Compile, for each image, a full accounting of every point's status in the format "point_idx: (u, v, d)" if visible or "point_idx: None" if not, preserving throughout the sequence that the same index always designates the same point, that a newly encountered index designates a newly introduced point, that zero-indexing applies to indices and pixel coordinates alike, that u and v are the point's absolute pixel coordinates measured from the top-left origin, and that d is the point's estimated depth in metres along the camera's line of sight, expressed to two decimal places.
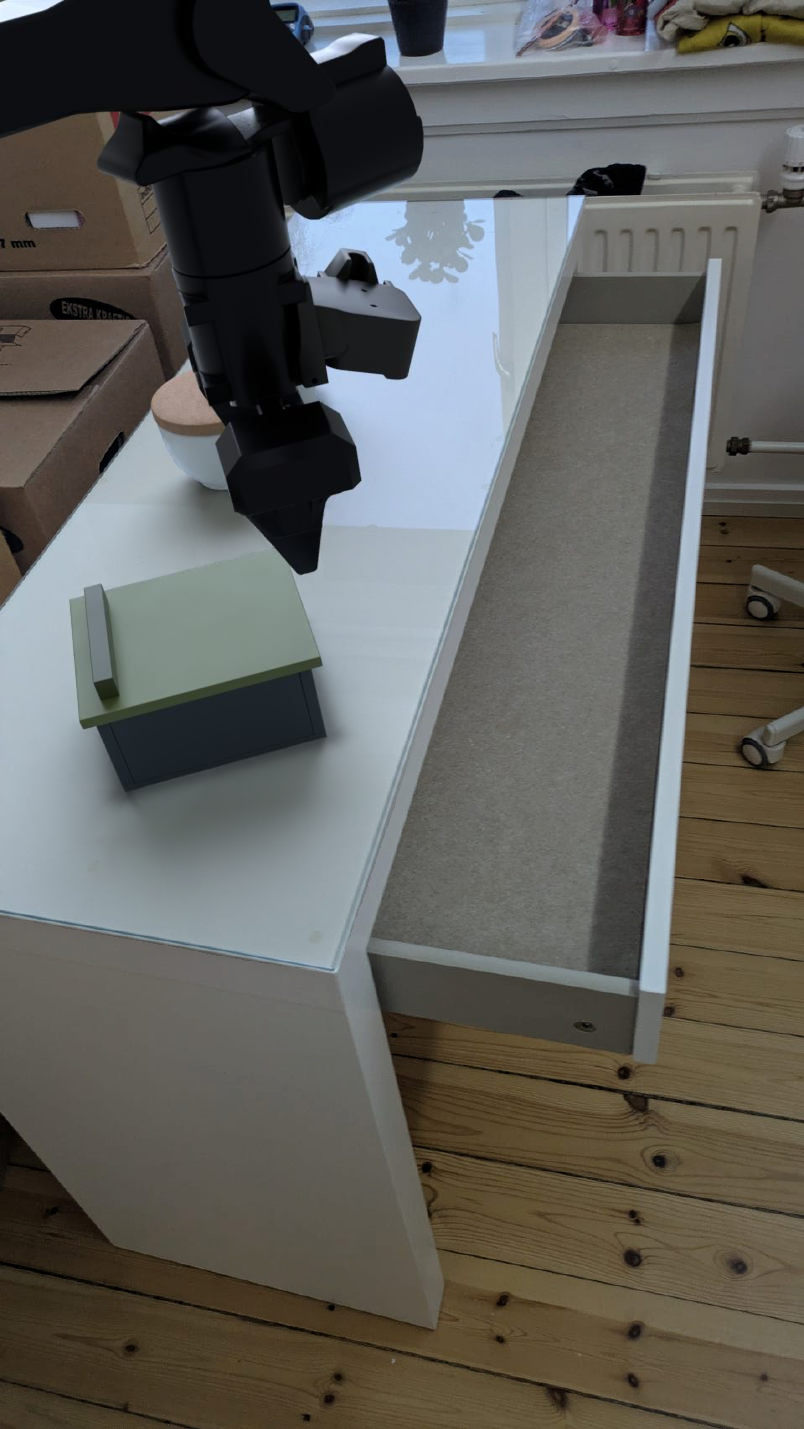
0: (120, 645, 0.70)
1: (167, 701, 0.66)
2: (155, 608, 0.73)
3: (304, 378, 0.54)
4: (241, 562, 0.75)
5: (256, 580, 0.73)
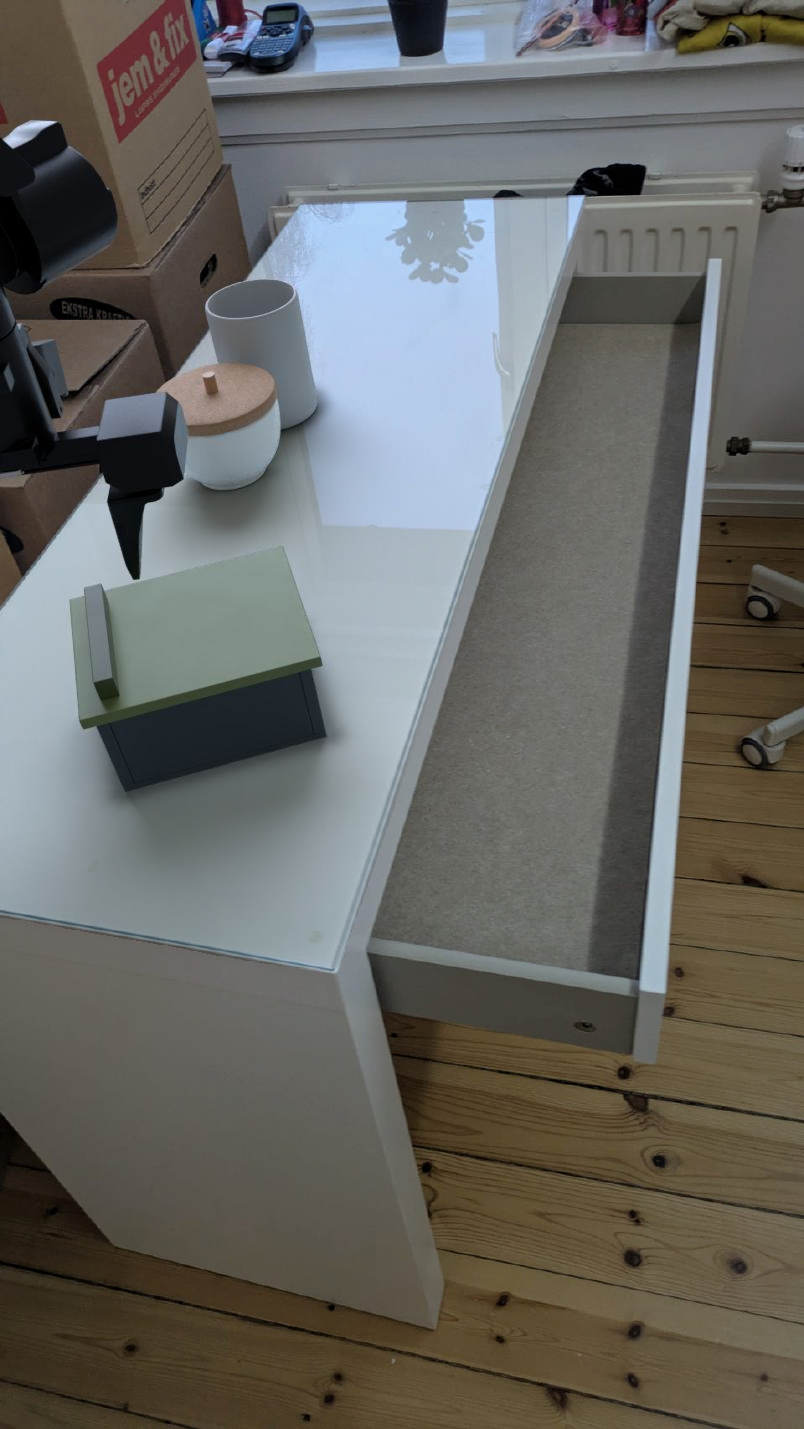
0: (120, 645, 0.70)
1: (167, 701, 0.66)
2: (155, 608, 0.73)
3: (58, 409, 0.59)
4: (241, 562, 0.75)
5: (256, 580, 0.73)
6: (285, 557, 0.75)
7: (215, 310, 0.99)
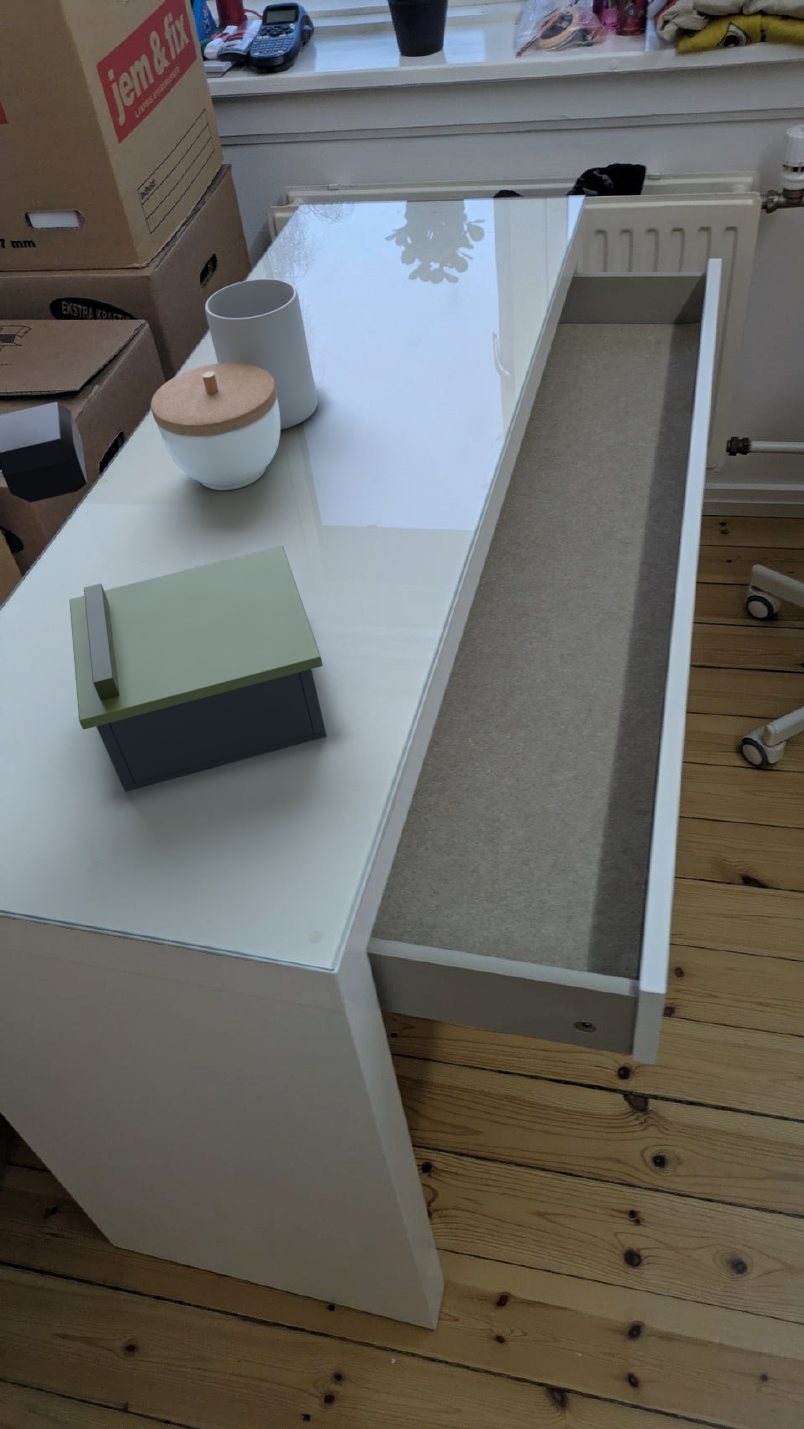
0: (120, 645, 0.70)
1: (167, 701, 0.66)
2: (155, 608, 0.73)
3: None
4: (241, 562, 0.75)
5: (256, 580, 0.73)
6: (285, 557, 0.75)
7: (215, 310, 0.99)
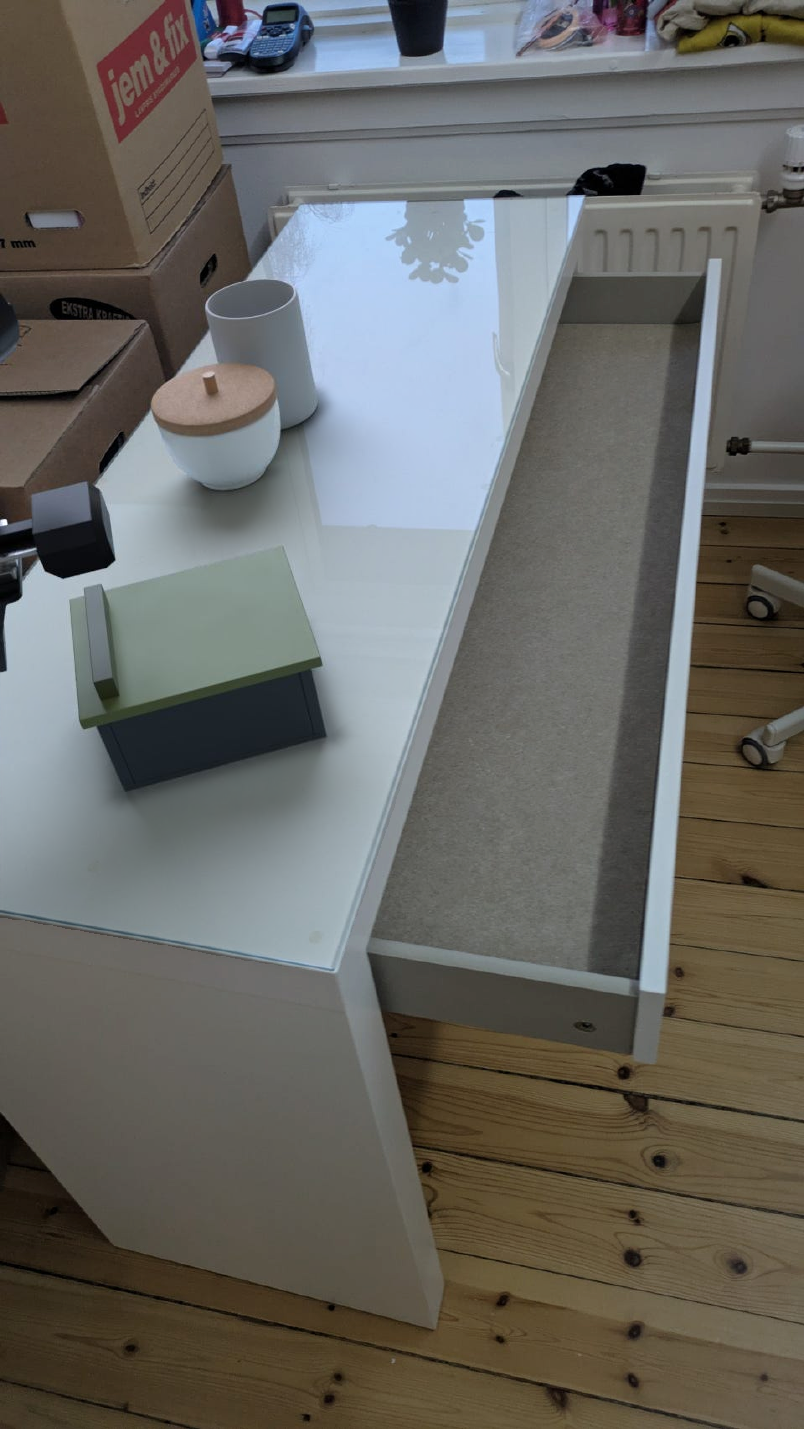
0: (120, 645, 0.70)
1: (167, 701, 0.66)
2: (155, 608, 0.73)
3: None
4: (241, 562, 0.75)
5: (256, 580, 0.73)
6: (285, 557, 0.75)
7: (215, 310, 0.99)
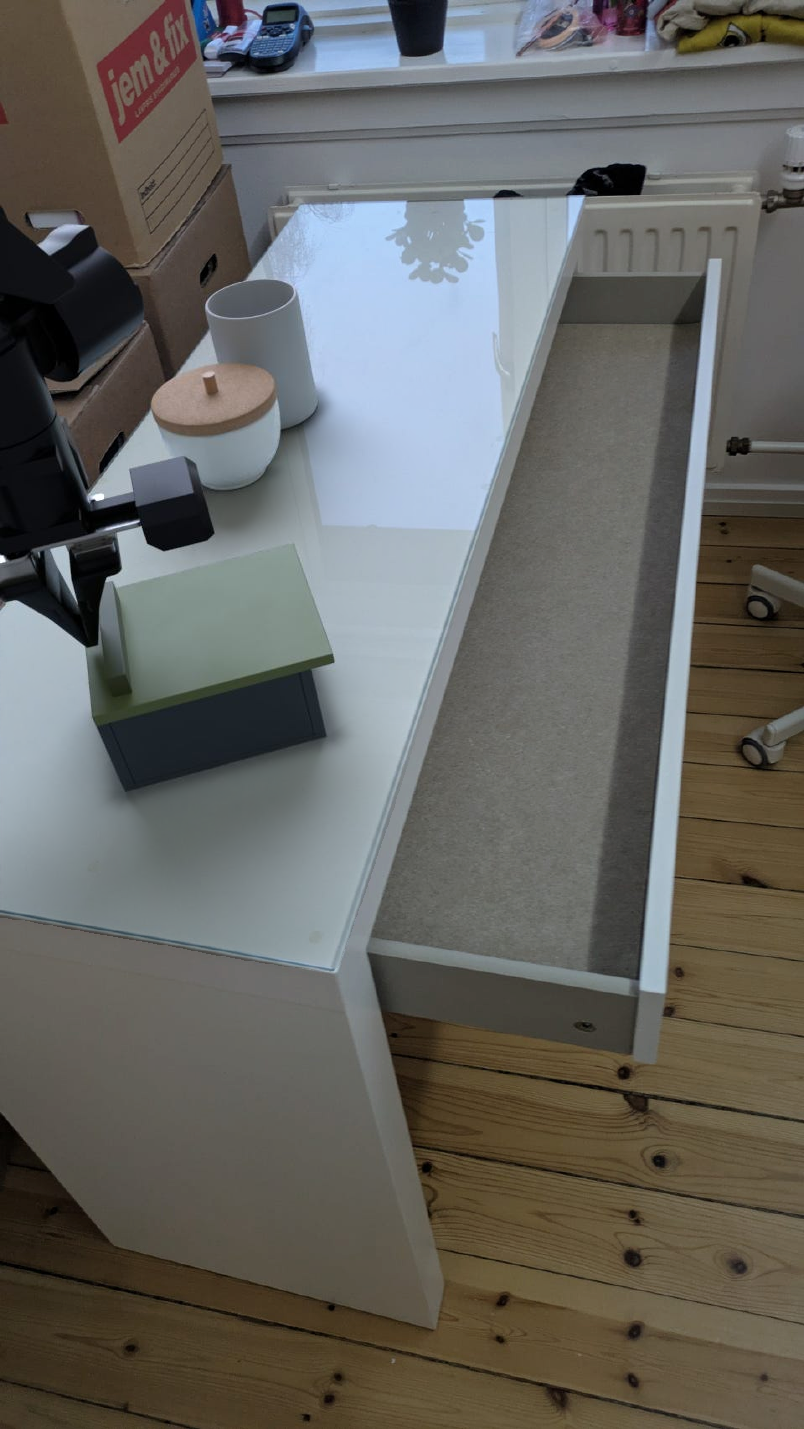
0: (132, 642, 0.70)
1: (180, 698, 0.66)
2: (166, 605, 0.73)
3: (86, 480, 0.64)
4: (251, 559, 0.75)
5: (267, 577, 0.74)
6: (296, 554, 0.75)
7: (215, 310, 0.99)
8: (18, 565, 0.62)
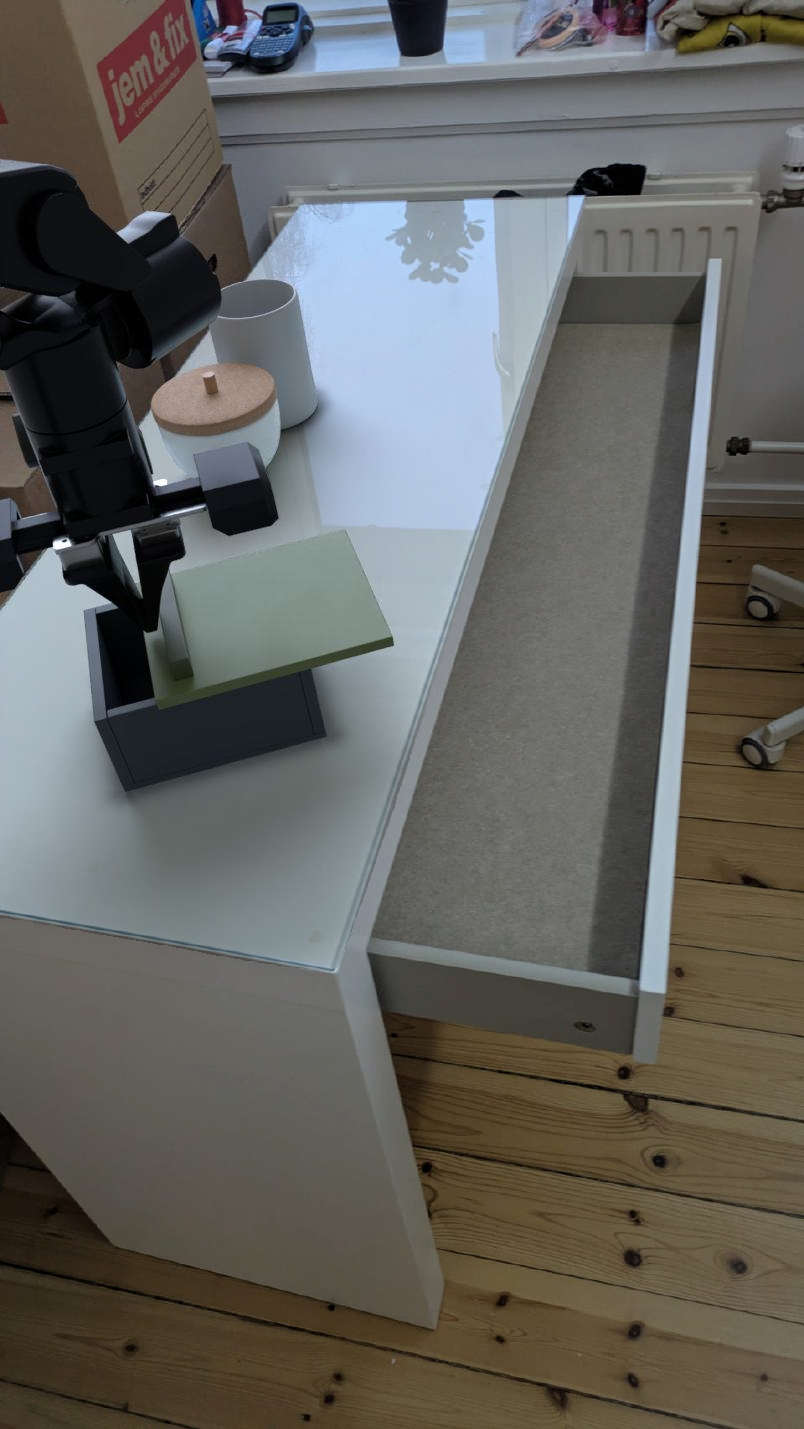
0: (190, 627, 0.71)
1: (242, 682, 0.67)
2: (222, 591, 0.73)
3: (151, 466, 0.65)
4: (304, 545, 0.76)
5: (321, 563, 0.74)
6: (348, 540, 0.76)
7: None
8: (85, 549, 0.63)
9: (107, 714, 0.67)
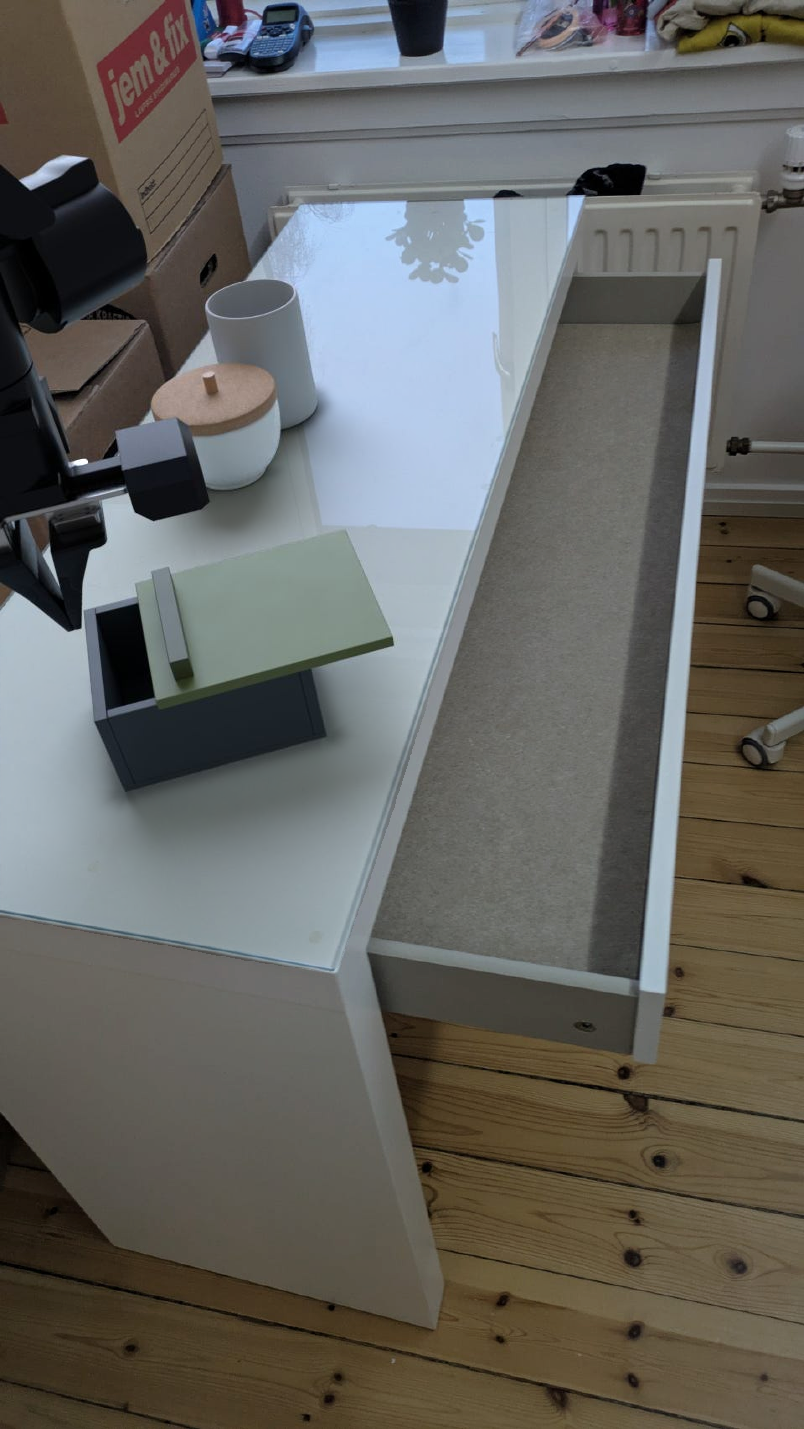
0: (190, 627, 0.71)
1: (242, 681, 0.67)
2: (222, 591, 0.73)
3: (67, 444, 0.58)
4: (304, 545, 0.76)
5: (321, 563, 0.74)
6: (348, 540, 0.76)
7: (215, 310, 0.99)
8: None
9: (107, 714, 0.67)
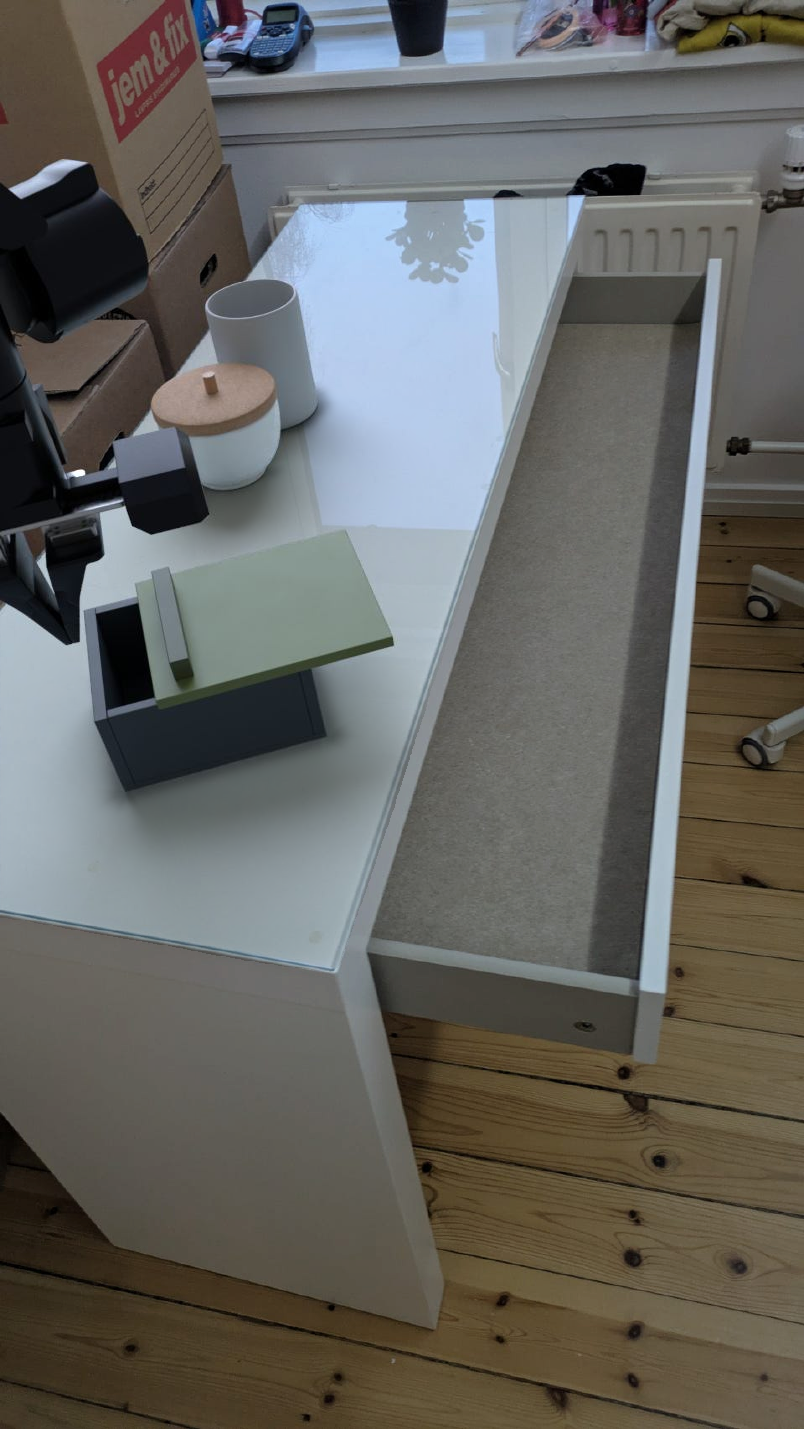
0: (190, 627, 0.71)
1: (242, 681, 0.67)
2: (222, 591, 0.73)
3: (64, 454, 0.57)
4: (304, 545, 0.76)
5: (321, 563, 0.74)
6: (348, 540, 0.76)
7: (215, 310, 0.99)
8: None
9: (107, 714, 0.67)
